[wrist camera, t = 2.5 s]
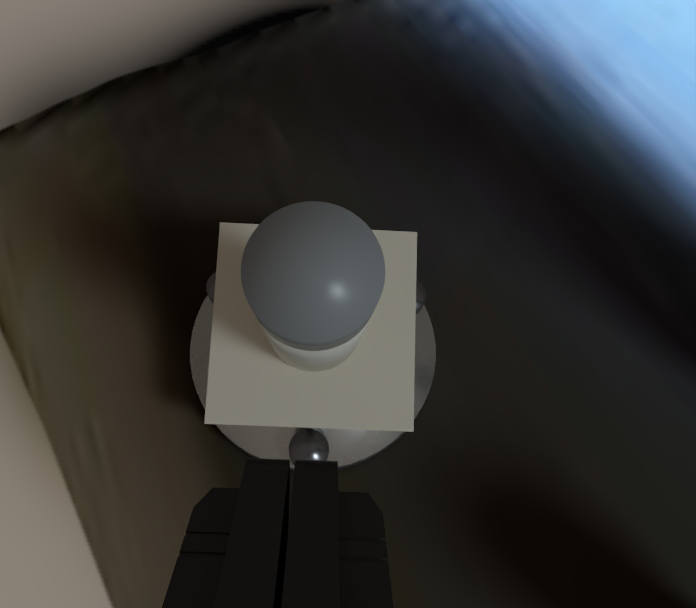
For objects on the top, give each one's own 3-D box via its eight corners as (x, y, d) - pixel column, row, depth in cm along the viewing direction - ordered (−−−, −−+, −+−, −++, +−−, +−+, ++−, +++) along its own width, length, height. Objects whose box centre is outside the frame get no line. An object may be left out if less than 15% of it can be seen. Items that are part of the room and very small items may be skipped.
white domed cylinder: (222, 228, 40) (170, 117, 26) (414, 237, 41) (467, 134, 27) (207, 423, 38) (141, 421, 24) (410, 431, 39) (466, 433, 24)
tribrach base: (312, 210, 48) (313, 178, 45) (479, 351, 44) (494, 329, 41) (142, 353, 43) (127, 330, 39) (315, 529, 39) (315, 521, 35)
